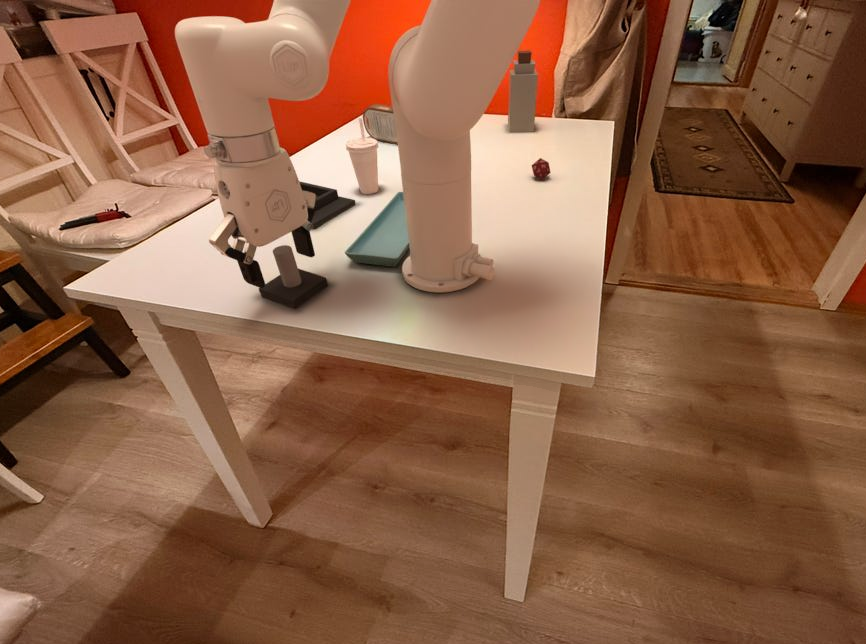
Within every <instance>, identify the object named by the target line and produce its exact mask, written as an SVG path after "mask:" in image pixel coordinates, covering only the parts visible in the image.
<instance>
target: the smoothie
mask: <svg viewBox="0 0 866 644" xmlns="http://www.w3.org/2000/svg"><path fill="white" fill-rule="evenodd" d="M358 122H359V129H360V134H361V137H358V138H353V139H350V140H348V141H347V142H345V149H346V151H347V152H348V154H349V159H350V161H351V165H352V167H353V172H354V174H355V177H356V180H357V184H358V187H359V190H360V193H361V194H364V195H372V194H375V193H377V192H378V191H379V172H378V171H379V170H378V168H379V167H378V148H379V144H378V140H376V139H374V138H372V137H366V135H365V130H364V129H365V128H364V122H363V118H358Z"/></svg>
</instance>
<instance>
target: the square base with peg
mask: <svg viewBox="0 0 866 644" xmlns="http://www.w3.org/2000/svg"><path fill="white" fill-rule="evenodd" d="M272 254H273V257H274V260H275V262H276V265H277V270H278V272H279V275H278V276H276V277H274V278H273V279H271V280H270V281H268V282H265V287H263V288H259V287H258V291H259V294H260V296H261V298H262V299H266V300H269V301H272V302H274V303H277V304H280V305H282V306H285V307H288V308H291V309H294V310H298V308H300V307H301V306H302V305H304V304H305V303H307V302H308V301H309V300H311V299H312V298H313V297H315V296H316V295H318V294H319V293H321V292H322V291H323V290H325V289H326V288H328V287H329V283H328V279H327V277H325V276H323V275H320V274H317V273H314V272H312V271H311V272H310V271H307V270H304V269H301V268H298V264H297V261H296V257H295V254H294V251H293V247H292V246H290V245H288V244H287V245H285V244H283V245H279V246H276V247H274V248H273V249H272Z"/></svg>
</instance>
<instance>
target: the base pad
mask: <svg viewBox="0 0 866 644" xmlns="http://www.w3.org/2000/svg"><path fill="white" fill-rule="evenodd" d="M299 183H300V186H301V189H302V190H303V191H308V192H312V193H315V195H316V199H315V206H314V208H313V209H314V210H315V214H314V216H313V219H312V222H311V223H312V226H313V227H312V229H313V230H315V229H317V228H318V227H320V226H322V225H323V224H325V223H327V222H329V221H330V220H332V219H334V218H335V217H337V216H339V215H340V214H342V213H344V212H345V211H347V210H349V209H351V208H353V207H354V206H355V205H356V200H355V199H352V198H349V197H348V198H347V197H343V196H339V193H338V190H337V189H336V188H330V187H327V186H321V185H318V184H313V183H308V182H305V181H300V180H299Z"/></svg>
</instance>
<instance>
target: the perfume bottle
mask: <svg viewBox="0 0 866 644" xmlns="http://www.w3.org/2000/svg"><path fill="white" fill-rule="evenodd" d="M532 55H533V52H532V50H529V49H527V50H518V51H517V59H516V60H514V59H513V60H512V64H513V69H510V70H509V80H508V105H507V106H508V108H507V128H508V129H507V130H508V133H533V132H535V123H536V110H537V109H536V108H537V93H538V79H539V74H538V71H537V70H536V62H535V60H534V59H532Z"/></svg>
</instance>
